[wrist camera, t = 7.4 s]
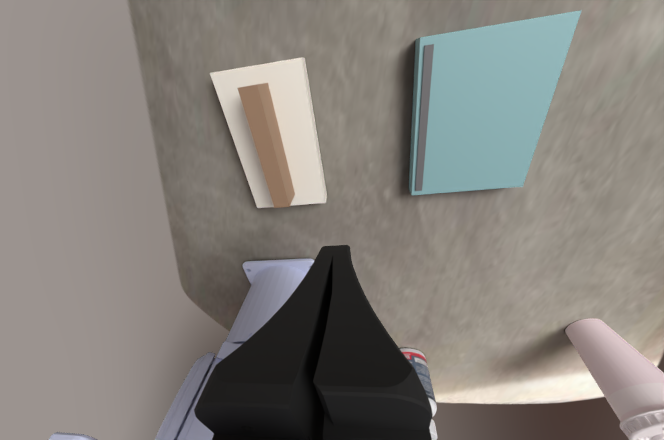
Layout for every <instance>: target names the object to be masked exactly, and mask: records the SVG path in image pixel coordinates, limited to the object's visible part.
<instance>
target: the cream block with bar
mask: <svg viewBox="0 0 664 440" xmlns="http://www.w3.org/2000/svg"><path fill="white" fill-rule="evenodd" d="M210 75H211V78H212V81H213V84H214V86H215V89H216V92H217V95H218V98H219V101H220V103H221V106H222V109H223V112H224V115H225V118H226V120H227V123H228V126H229V129H230V132H231V135H232V137H233V140H234V143H235V146H236V149H237V152H238V154H239V157H240V160H241V163H242V166H243V169H244V171H245V174H246V177H247V180H248V183H249V186H250V188H251V191H252V194H253V197H254V200H255V203H256V205H257V208H266V207H274V208H279V207H290V206H291V205H304V204H316V203H326V199H327V192H326V186H325V180H324V174H323V168H322V162H321V155H320V149H319V143H318V137H317V131H316V125H315V118H314V112H313V106H312V100H311V94H310V88H309V81H308V75H307V69H306V63H305V58H296V59H290V60H284V61H278V62H272V63H266V64H261V65H255V66H249V67H243V68H237V69H231V70H225V71H219V72H213V73H210Z"/></svg>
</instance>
